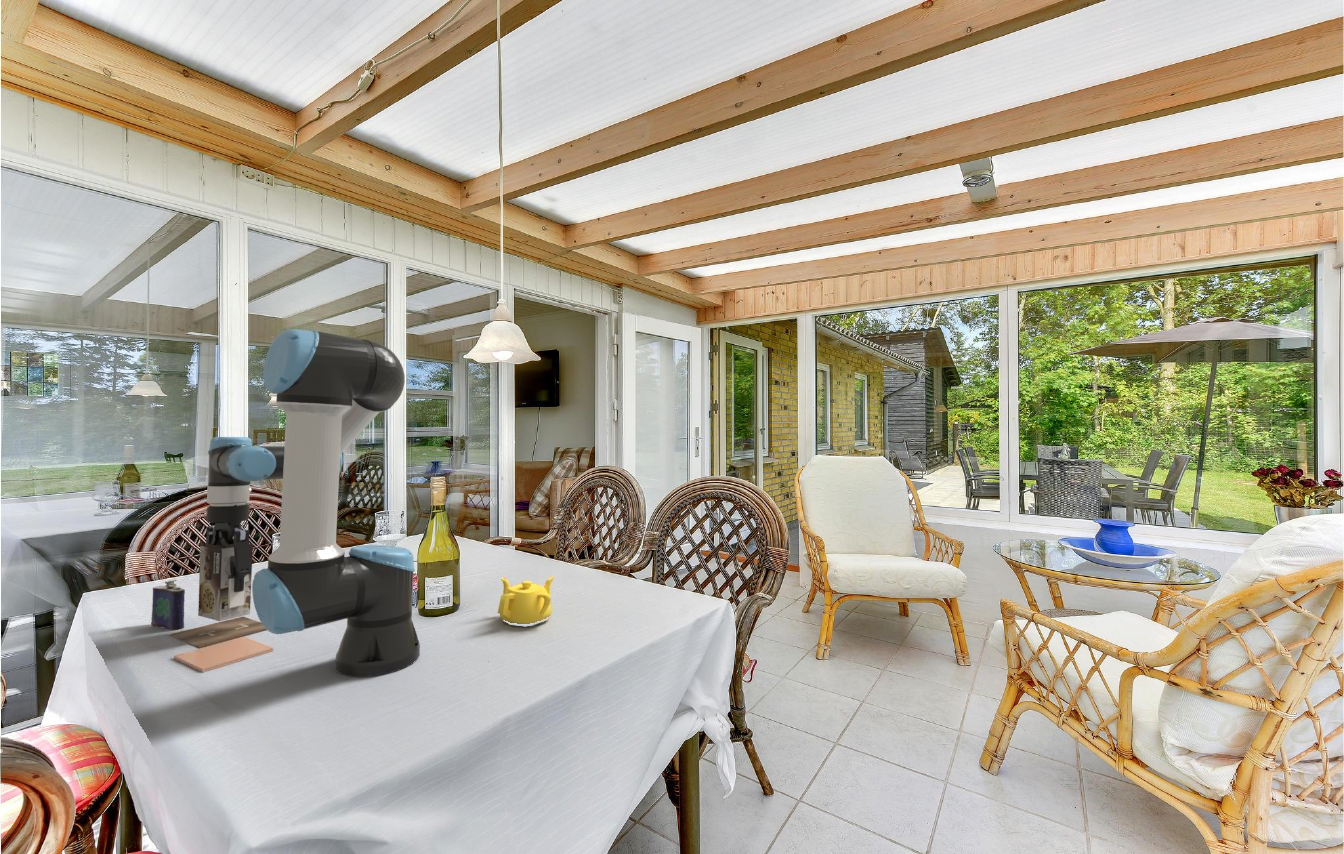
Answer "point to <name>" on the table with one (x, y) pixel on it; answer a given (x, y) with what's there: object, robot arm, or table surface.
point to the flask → (168, 606)
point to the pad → (223, 653)
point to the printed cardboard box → (219, 583)
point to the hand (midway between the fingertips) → (224, 602)
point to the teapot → (525, 602)
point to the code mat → (220, 632)
